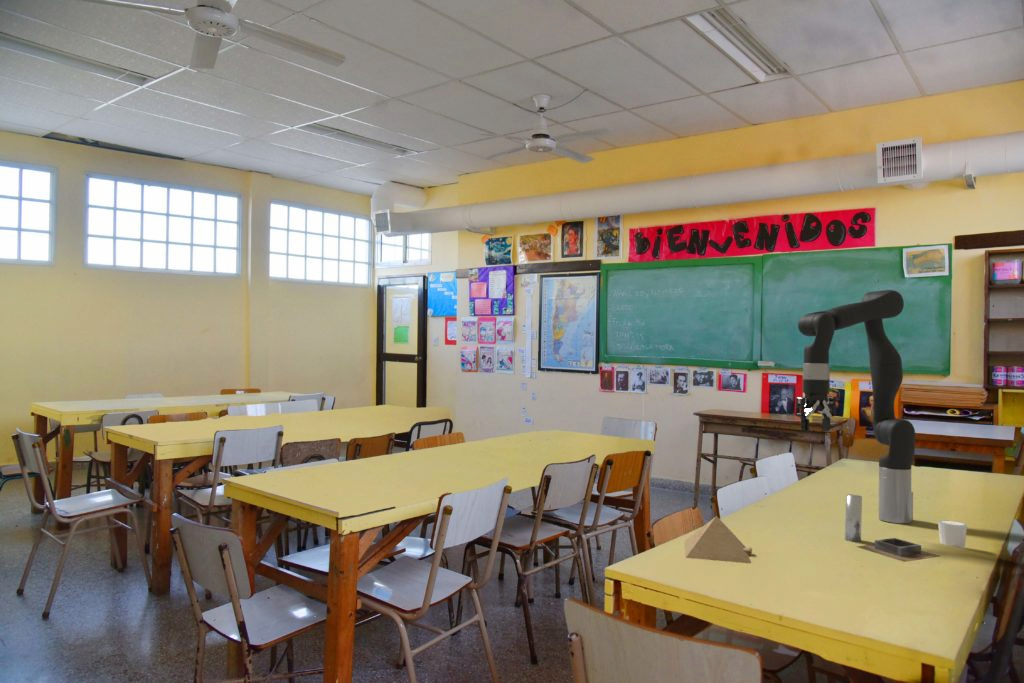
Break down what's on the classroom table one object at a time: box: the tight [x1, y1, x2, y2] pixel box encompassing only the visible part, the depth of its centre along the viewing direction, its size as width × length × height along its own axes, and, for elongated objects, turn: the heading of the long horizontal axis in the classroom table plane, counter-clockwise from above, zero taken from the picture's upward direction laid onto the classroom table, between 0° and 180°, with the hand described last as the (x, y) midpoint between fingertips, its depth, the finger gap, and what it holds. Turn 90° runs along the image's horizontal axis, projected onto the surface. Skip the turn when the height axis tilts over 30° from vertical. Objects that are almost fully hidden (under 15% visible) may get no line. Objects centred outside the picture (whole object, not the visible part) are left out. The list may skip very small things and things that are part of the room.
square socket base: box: [856, 537, 940, 563], centre depth 177 cm, size 14×14×3 cm
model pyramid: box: [684, 515, 753, 564], centre depth 177 cm, size 17×17×10 cm
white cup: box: [937, 519, 968, 550], centre depth 185 cm, size 7×7×7 cm
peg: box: [844, 493, 863, 543], centre depth 187 cm, size 4×4×13 cm
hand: (815, 431), depth 204 cm, fingers open, 8 cm apart
